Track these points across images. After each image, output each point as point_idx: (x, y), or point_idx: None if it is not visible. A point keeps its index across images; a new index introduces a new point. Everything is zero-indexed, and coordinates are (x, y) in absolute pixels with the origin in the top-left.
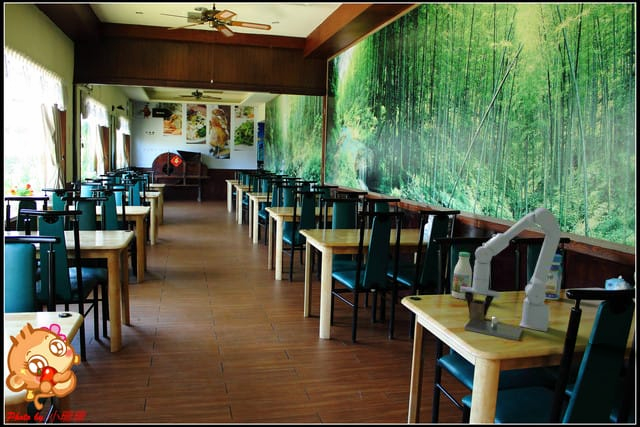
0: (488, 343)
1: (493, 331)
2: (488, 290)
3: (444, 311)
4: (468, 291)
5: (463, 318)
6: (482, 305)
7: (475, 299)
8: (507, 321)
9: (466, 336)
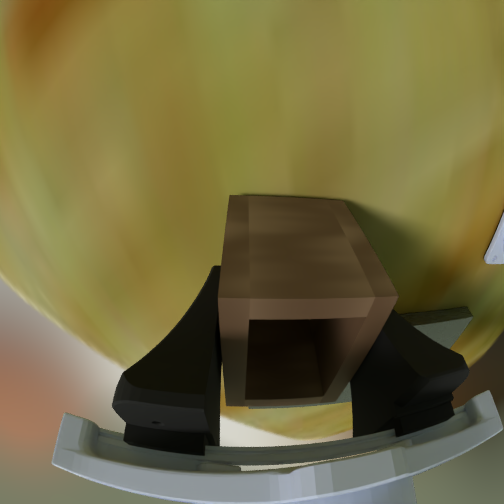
0: (323, 421)
1: (349, 398)
2: (430, 461)
3: (49, 225)
4: (163, 460)
5: (195, 294)
6: (325, 400)
7: (241, 304)
8: (463, 194)
9: (265, 419)
